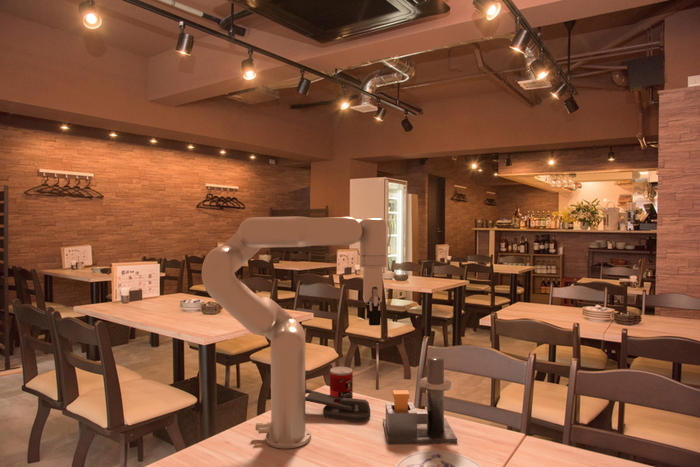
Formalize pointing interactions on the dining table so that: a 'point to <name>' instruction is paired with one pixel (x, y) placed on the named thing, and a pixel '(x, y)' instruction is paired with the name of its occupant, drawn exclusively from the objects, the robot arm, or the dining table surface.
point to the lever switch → (422, 413)
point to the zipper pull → (341, 407)
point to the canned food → (341, 382)
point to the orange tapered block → (400, 399)
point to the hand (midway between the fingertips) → (373, 321)
